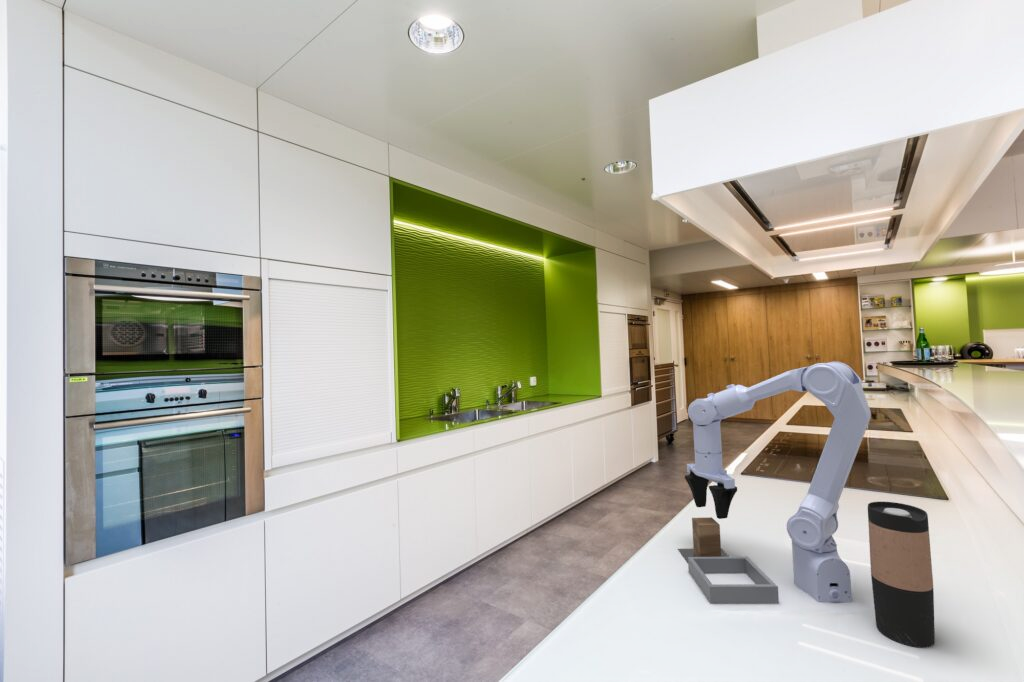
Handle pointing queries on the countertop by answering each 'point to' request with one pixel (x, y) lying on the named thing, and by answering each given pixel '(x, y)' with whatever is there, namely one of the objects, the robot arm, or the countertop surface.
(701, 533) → the walnut strut
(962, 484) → the countertop surface
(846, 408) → the robot arm
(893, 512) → the travel mug
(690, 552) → the stud plate
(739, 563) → the charcoal bin
